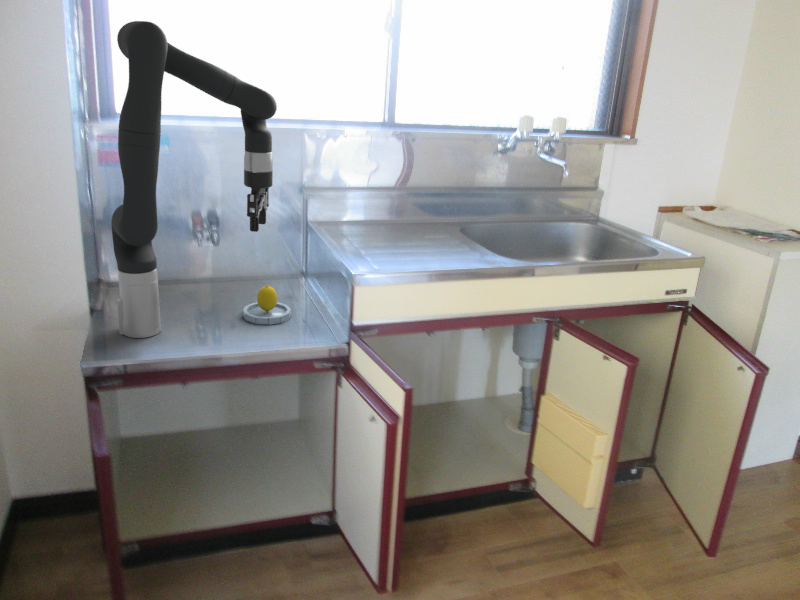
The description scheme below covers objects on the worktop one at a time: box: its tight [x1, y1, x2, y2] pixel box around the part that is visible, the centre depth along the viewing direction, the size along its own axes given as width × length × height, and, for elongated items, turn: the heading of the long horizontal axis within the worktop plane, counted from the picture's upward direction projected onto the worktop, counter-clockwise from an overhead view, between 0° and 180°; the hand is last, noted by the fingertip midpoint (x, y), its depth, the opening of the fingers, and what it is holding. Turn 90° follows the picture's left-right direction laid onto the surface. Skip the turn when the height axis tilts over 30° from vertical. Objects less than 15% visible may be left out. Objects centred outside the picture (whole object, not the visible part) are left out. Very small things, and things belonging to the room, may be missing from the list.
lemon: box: [256, 284, 278, 312], centre depth 188 cm, size 6×6×8 cm
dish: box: [242, 301, 292, 325], centre depth 189 cm, size 13×13×2 cm
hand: (258, 227), depth 184 cm, fingers open, 8 cm apart
